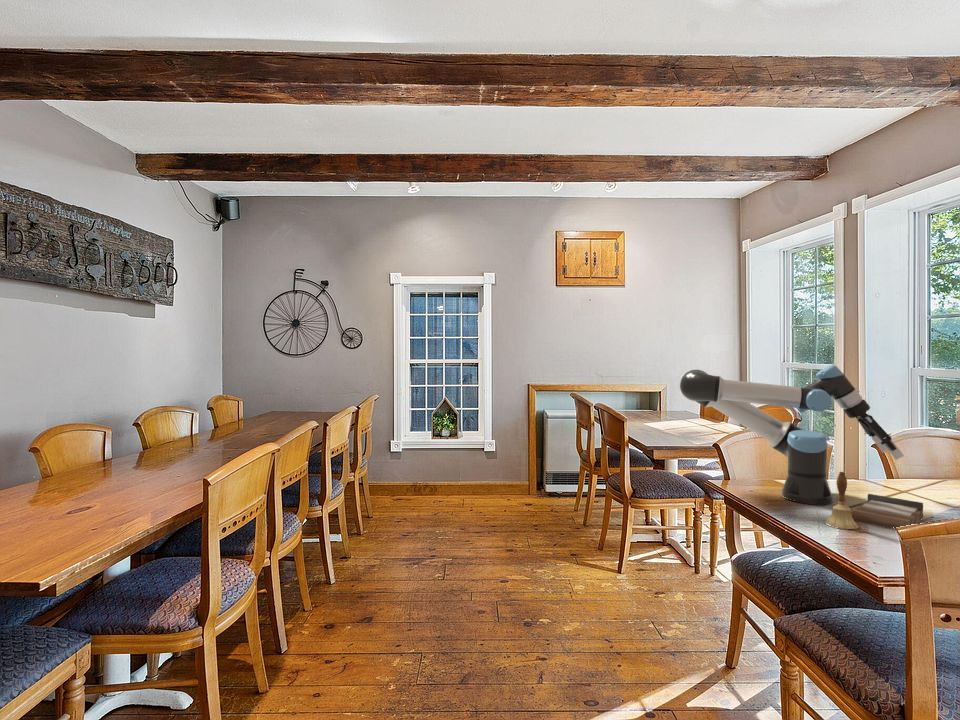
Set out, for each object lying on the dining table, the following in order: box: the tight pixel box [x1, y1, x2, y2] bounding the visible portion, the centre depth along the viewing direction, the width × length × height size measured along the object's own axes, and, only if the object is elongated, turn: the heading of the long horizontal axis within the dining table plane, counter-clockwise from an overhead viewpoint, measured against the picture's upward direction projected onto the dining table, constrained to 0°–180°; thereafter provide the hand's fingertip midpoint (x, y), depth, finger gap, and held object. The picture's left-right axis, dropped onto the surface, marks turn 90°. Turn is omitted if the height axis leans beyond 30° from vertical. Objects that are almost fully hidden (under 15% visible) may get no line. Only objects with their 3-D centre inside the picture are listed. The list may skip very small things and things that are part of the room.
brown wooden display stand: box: [851, 493, 924, 529], centre depth 165 cm, size 18×14×5 cm
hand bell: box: [825, 471, 860, 530], centre depth 159 cm, size 8×8×16 cm
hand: (893, 454), depth 189 cm, fingers open, 13 cm apart
